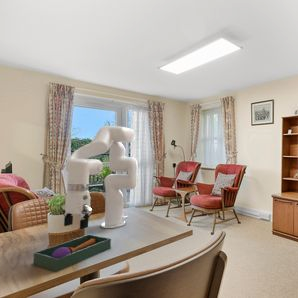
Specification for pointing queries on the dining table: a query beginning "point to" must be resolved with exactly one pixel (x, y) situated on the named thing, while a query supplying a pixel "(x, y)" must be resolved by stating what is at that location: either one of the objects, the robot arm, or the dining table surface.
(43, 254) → the tray
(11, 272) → the dining table surface
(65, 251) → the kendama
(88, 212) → the robot arm
